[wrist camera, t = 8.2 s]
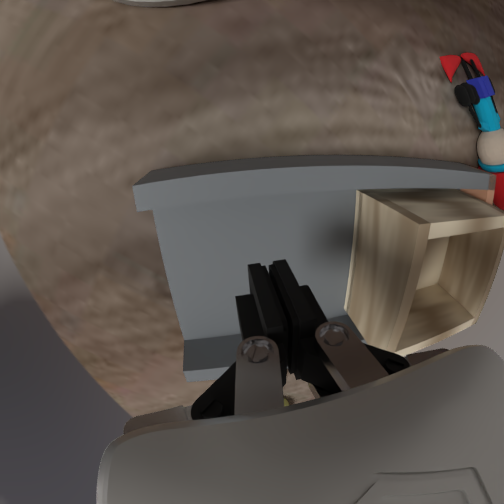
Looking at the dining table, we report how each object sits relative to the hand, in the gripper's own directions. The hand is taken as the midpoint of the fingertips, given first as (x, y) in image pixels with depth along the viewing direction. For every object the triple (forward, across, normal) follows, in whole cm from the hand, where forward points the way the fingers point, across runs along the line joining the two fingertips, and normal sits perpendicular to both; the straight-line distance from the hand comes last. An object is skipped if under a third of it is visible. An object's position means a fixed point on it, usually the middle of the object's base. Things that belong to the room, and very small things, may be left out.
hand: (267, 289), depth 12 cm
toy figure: (+7, -22, -8) cm, 24 cm away
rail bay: (+6, -7, +2) cm, 9 cm away
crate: (+4, -12, +2) cm, 13 cm away
